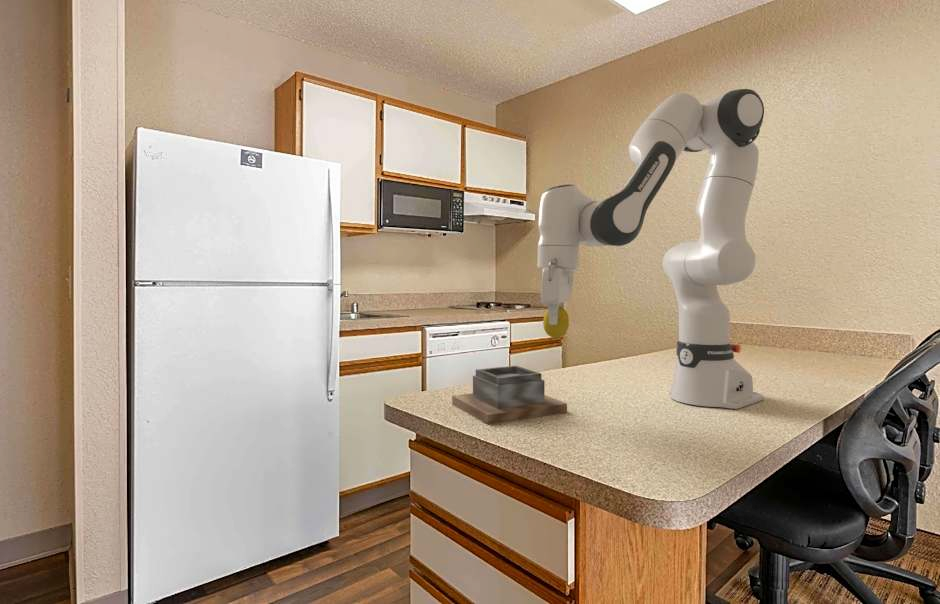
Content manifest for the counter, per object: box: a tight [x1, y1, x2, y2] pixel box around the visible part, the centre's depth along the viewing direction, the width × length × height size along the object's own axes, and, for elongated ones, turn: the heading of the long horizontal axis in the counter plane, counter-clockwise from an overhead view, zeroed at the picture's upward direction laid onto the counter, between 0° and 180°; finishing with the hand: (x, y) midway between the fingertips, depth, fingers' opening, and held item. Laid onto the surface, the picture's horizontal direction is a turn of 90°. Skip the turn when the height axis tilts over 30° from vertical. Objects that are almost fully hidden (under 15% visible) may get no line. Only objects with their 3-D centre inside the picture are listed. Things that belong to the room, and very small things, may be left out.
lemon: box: [542, 306, 570, 341], centre depth 109 cm, size 6×6×8 cm
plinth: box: [451, 365, 568, 425], centre depth 114 cm, size 20×18×8 cm
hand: (556, 323), depth 109 cm, fingers closed on lemon, 5 cm apart
